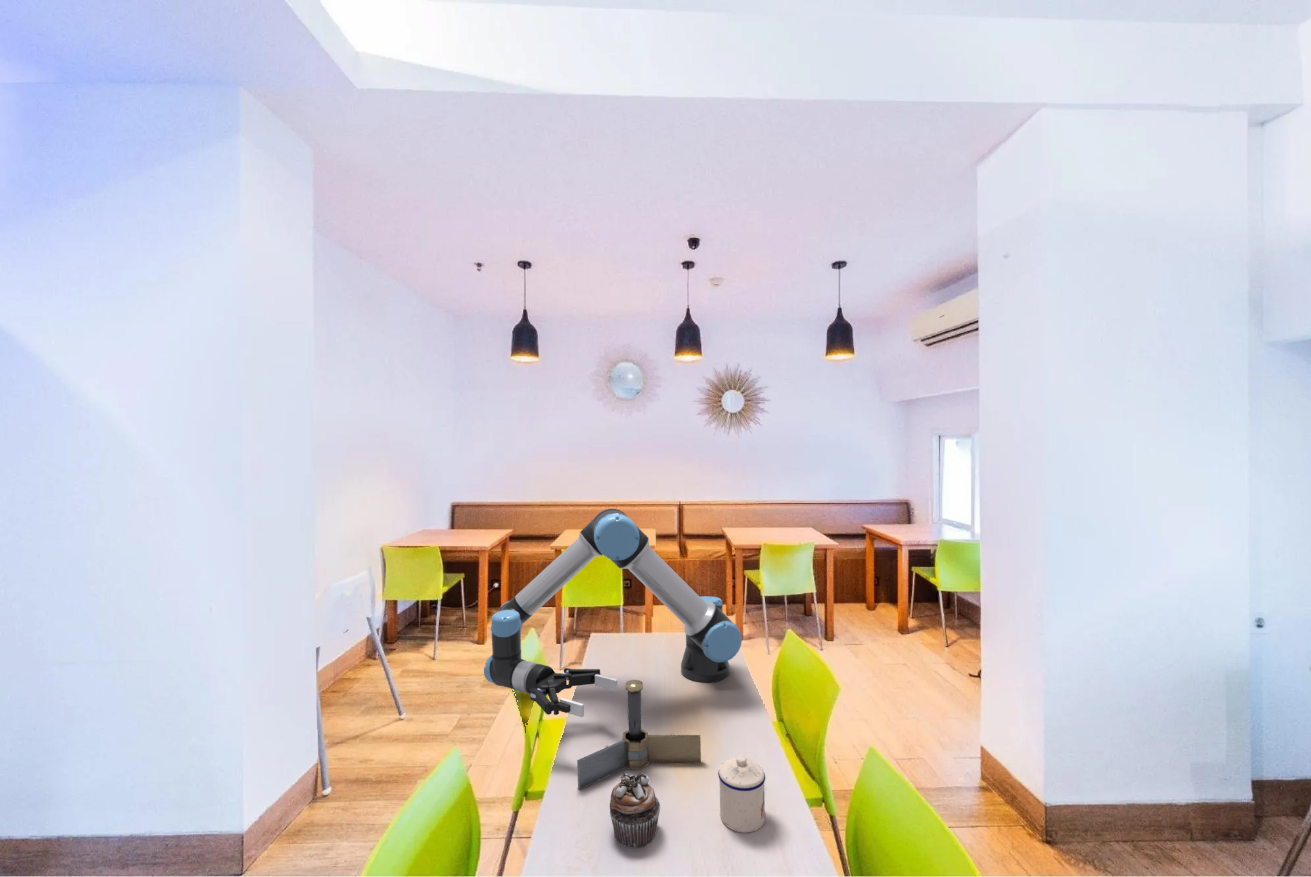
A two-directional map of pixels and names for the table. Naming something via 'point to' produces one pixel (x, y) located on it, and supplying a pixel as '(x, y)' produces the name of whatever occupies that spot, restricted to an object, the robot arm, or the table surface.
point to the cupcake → (634, 811)
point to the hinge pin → (634, 709)
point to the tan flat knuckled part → (664, 749)
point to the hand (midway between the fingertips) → (600, 697)
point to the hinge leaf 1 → (605, 763)
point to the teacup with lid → (742, 794)
